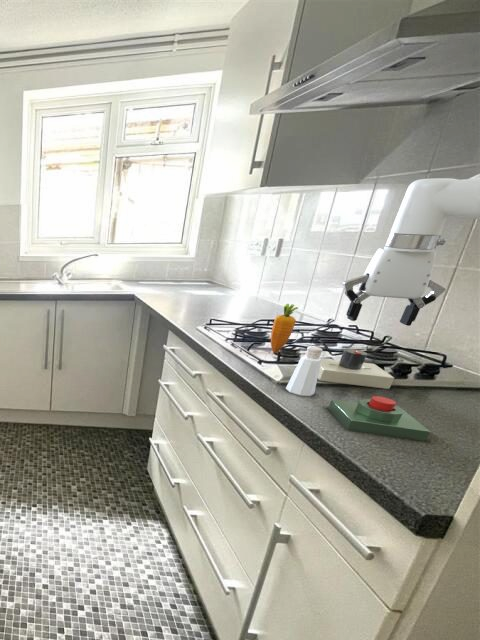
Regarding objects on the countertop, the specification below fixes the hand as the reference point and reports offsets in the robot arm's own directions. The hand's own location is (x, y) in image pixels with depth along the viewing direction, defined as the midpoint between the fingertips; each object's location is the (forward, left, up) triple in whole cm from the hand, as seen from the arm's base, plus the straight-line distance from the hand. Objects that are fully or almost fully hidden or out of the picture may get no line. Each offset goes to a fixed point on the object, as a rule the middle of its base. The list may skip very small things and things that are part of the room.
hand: (377, 321), depth 95 cm
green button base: (+4, +21, -16) cm, 27 cm away
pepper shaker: (+13, +8, -16) cm, 22 cm away
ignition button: (+4, +21, -13) cm, 25 cm away
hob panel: (-1, -7, -16) cm, 18 cm away
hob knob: (-1, -7, -13) cm, 15 cm away
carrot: (+11, -22, -16) cm, 29 cm away
